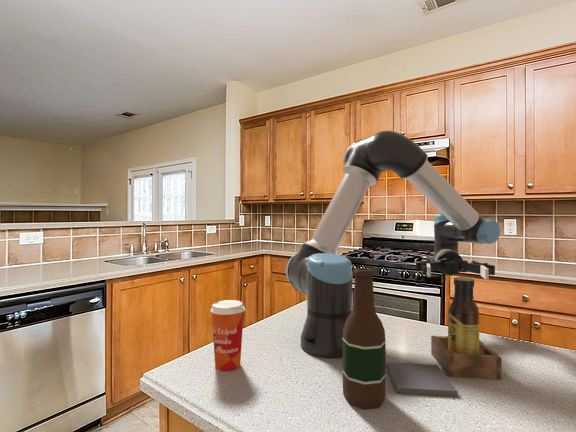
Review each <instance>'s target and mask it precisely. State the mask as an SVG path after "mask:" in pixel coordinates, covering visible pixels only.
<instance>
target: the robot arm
mask: <svg viewBox="0 0 576 432" xmlns="http://www.w3.org/2000/svg"><path fill="white" fill-rule="evenodd" d="M428 156H429V155H428V154H427V152H426V151H424V150H423V149H422V148H421V146H419V145H418V144H417V143H416V142H415V141H414V140H412V139H410V138H409V137H407V136H406V135H403V134H401V133H399V132H397V131H393V130H382V131H379V132H376V133H374V134H371V135H370V136H367V137H364V138H361V139H359V140H357V141H355V142H353V143H352V144H351V145H350V146H349V147H348V148H347V149H346V151H345V154H344V159H343V161H344V165H343V167H342V172H343V177H342V179H341V181H340V183H339V185H338V187H337V189H336V191H335V193H334V195H333V197H332V199H331V200H330V202H329V205H327V208H326V210H325V213H324V214H323V216H322V218H321V219H320V221H319V223H318V225H317V227H316V229H315V231H314V233H313V235H312V237H311V239H310V240H308V241H305V242H303V243H302V245H301V247H300V249H299V251H298V252H297V253H295V254H293V256H291V257H290V258H289V260H288V262H287V264H286V268H285V275H286V279H287V281H288V282H289V284H290V285H291V287H292V288H294V290H295V291H297V292H299V293H301V294H303V295H305V296H307V297H306V298H307V300H306V302H307V303H306V304H307V305H306V306H307V307H306V308H307V309H306V310H307V311H306V318H305V322H304V325H303V327H302V331H301V334H300V347H301V349H302V350H303V351H305V352H307V353H308V354H311V355H313V356H317V357H322V358H343V327H344V325H345V322H346V319H347V318H348V317H349V315H350V314H351V312H352V308H353V277H354V271H353V267H352V261H351V260H350V259H349V258H347V257H346V256H343V255H340V254H337V252H338V250H339V247H340V245H341V244H342V242H343V239H344V237H345V236H346V234H347V232H348V230H349V227H350V226H351V223H352V221H353V219H354V218H355V216H356V215H357V214H356V213H357V211H358V210H359V207H360V206H361V204H362V202H363V200H364V198H365V196H366V194H367V192H368V189H369V188H370V187H373V186H376V184H377V183H378V180H379V178H380V176H381V175H382V173H383V172H388V171H390V172H392V173H394V174H396V175H397V176H398V177H399V178H400V179H403V180H404V179H406V180H407V181H408V182H409V183H410V184H411V185H412V186H413V187H414V188H416V190H417V191H419V192H420V193H421V195H422V196H424V198H425V199H426V200H427V201H428V202H430V203H431V204H432V206H433V207H435V209H437V211H439V212H440V213H437V214H435V215H434V221H433V223H434V224H433V233H434V234H433V235H434V253H433V260H432V259H431V258H428V259H426V260H423V261H418V262H415V271H416V272H421V273H422V275H423V276H424V275H426V276H427V278H431V277H432V272H436V271H437V272H441V273H442V274H444V275H447V276H455V275H458V274H460V273H474V274H478V275H480V276H481V277H482V278H483V280H487V281H488V280H490V277H489V276H495V275H496V266H495V265H493V264H489V263H488V262H478V261H476V260H471V261H470V262H468V260H465V259H464V260H463V258H462V256H461V255H460V254H459V242H460V243H472V244H479V245H483V244H485V245H487V244H488V245H491V244H495V243H496V242H497V241H498V240H499V238H500V236H501V227H500V224H499V222H497V221H496V220H494V219H489V218H483V217H482V216H481V215H480V214H479V213H478V211H476V210H475V208H473V206H472V205H471V204H470V203H469V202H468V201H467V200H466V199H465V198H464V197H463V195H461V194H460V193H459V192H458V190H456V189H455V188H454V187H453V186H452V185H451V183H450V182H449V181H448V180H447V179H446V178H445V177H444V176H443V175H442V173H440V172H439V171H438V169H436V168H435V167H434V165H433V164H431V162H429V160H428V158H429V157H428Z"/></svg>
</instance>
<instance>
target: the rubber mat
mask: <svg viewBox="0 0 576 432" xmlns="http://www.w3.org/2000/svg"><path fill="white" fill-rule="evenodd" d="M386 370H387V372H388V375H389V377H390V379H391V381H392V385H393V386H394V387H393V388H394V389H395V391H396V393H397V394H412V395H425V396H427V395H428V396H441V397H442V396H445V397H458V390H457V389H456V388H455V386H454V385H453V384H452V381H450V380H449V378H448V377H447V375H446V373H444V372H443V369H441V368H440V365H439V364H433V363H431V364H430V363H412V362H411V363H410V362H408V363H407V362H394V361H392V362H391V361H388V362H387V361H386Z"/></svg>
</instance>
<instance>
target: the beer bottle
mask: <svg viewBox="0 0 576 432" xmlns="http://www.w3.org/2000/svg"><path fill="white" fill-rule="evenodd" d="M353 276H354V288H353V290H354V291H353V301H352V312H351V314H350V315H349V317H348V318H347V319H346V322H345V325H344V327H343V357H342V391H343V392H342V393H343V396H344V398H345V399H346V401H347V402H348V404H349V405H352V406H353V407H357V408H360V409H363V410H368V409H369V410H370V409H376V408H377V409H378V408H380V407H381V406H382V403H383V402H384V401H385V399H386V385H387V383H386V381H387V380H386V377H387V376H386V370H387V367H386V362H387V361H386V360H387V359H386V354H387V353H386V346H387V344H386V331H385V327H384V325H383V322H382V320H381V319H380V317H379V316H378V314H377V312H376V305H375V297H374V296H375V294H374V279H373V277H374V276H375V273H374V270H373V269H371V268H367V267H366V268H365V267H359V268H356V269H354V271H353Z"/></svg>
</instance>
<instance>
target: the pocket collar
mask: <svg viewBox="0 0 576 432" xmlns="http://www.w3.org/2000/svg"><path fill="white" fill-rule="evenodd" d="M430 339H431V341H430V342H431V343H430V345H431V346H430V352H431V355H432V358H434V360H435V361H436V362H437V363H438V366H439V367H441V368H442V371H444V372H445V375H446V376H448V377H450V378H466V379H467V378H470V379H485V380H486V379H488V380H489V379H490V380H502V357H501V356H500V355H499V354H498V353H497V352H495V351H494V350H492V349H491V348H490V347H489V346H487V345H486V343H484V342H482V341H481V340H480V339H479V355H475V354H453V353H451V352H450V351H449V350H448V335H447V336H446V335H431V337H430Z"/></svg>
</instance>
